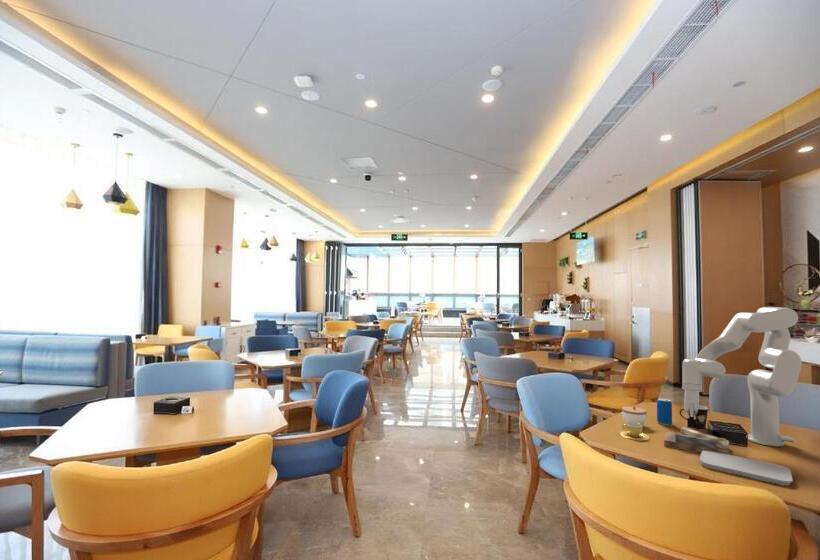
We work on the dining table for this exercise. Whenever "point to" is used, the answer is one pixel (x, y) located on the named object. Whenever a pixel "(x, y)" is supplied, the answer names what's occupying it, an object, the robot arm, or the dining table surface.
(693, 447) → the weathered wood block
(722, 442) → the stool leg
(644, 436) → the cup
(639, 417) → the lidded jar
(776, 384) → the robot arm
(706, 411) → the coffee mug
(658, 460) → the dining table surface
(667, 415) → the beverage can
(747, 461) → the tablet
